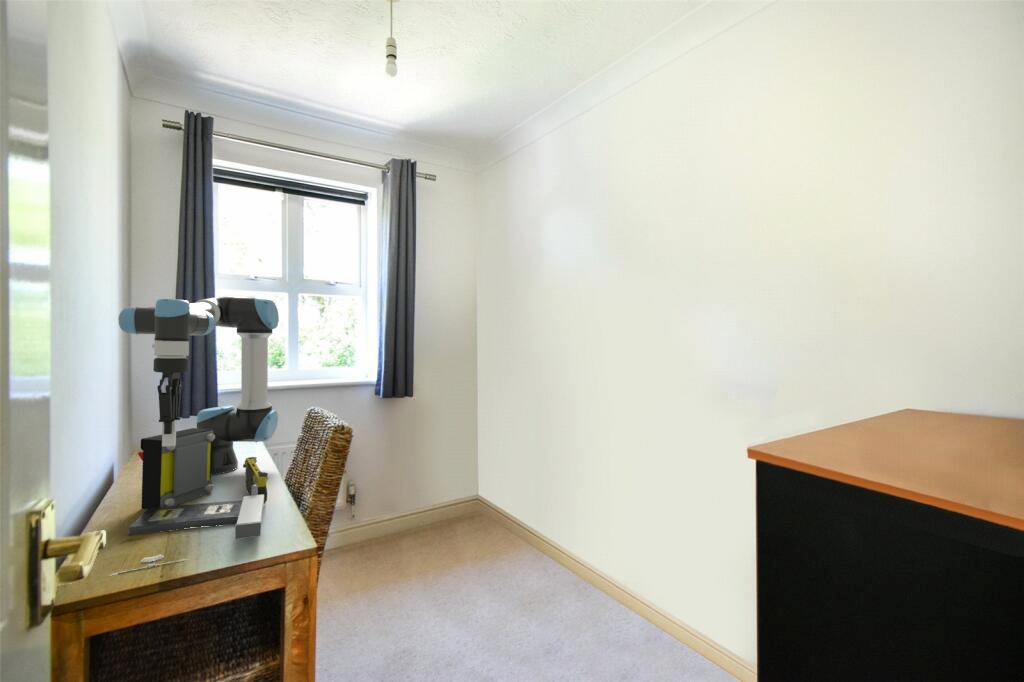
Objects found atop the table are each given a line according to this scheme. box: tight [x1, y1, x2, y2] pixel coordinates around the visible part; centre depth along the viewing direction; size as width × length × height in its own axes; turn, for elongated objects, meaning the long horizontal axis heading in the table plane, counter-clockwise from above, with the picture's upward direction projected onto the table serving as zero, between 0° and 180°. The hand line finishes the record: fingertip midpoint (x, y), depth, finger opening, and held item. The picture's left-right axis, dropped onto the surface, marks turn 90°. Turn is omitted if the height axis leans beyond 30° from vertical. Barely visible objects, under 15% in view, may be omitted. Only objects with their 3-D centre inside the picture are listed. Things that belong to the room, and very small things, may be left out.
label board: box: [128, 484, 258, 536], centre depth 128 cm, size 14×27×8 cm, turn 112°
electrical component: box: [137, 427, 215, 510], centre depth 142 cm, size 18×10×20 cm, turn 168°
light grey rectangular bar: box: [234, 494, 265, 540], centre depth 121 cm, size 22×5×3 cm, turn 26°
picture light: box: [108, 554, 186, 577], centre depth 102 cm, size 14×4×2 cm, turn 125°
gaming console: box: [242, 456, 269, 505], centre depth 147 cm, size 26×4×10 cm, turn 36°
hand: (168, 445), depth 125 cm, fingers closed
